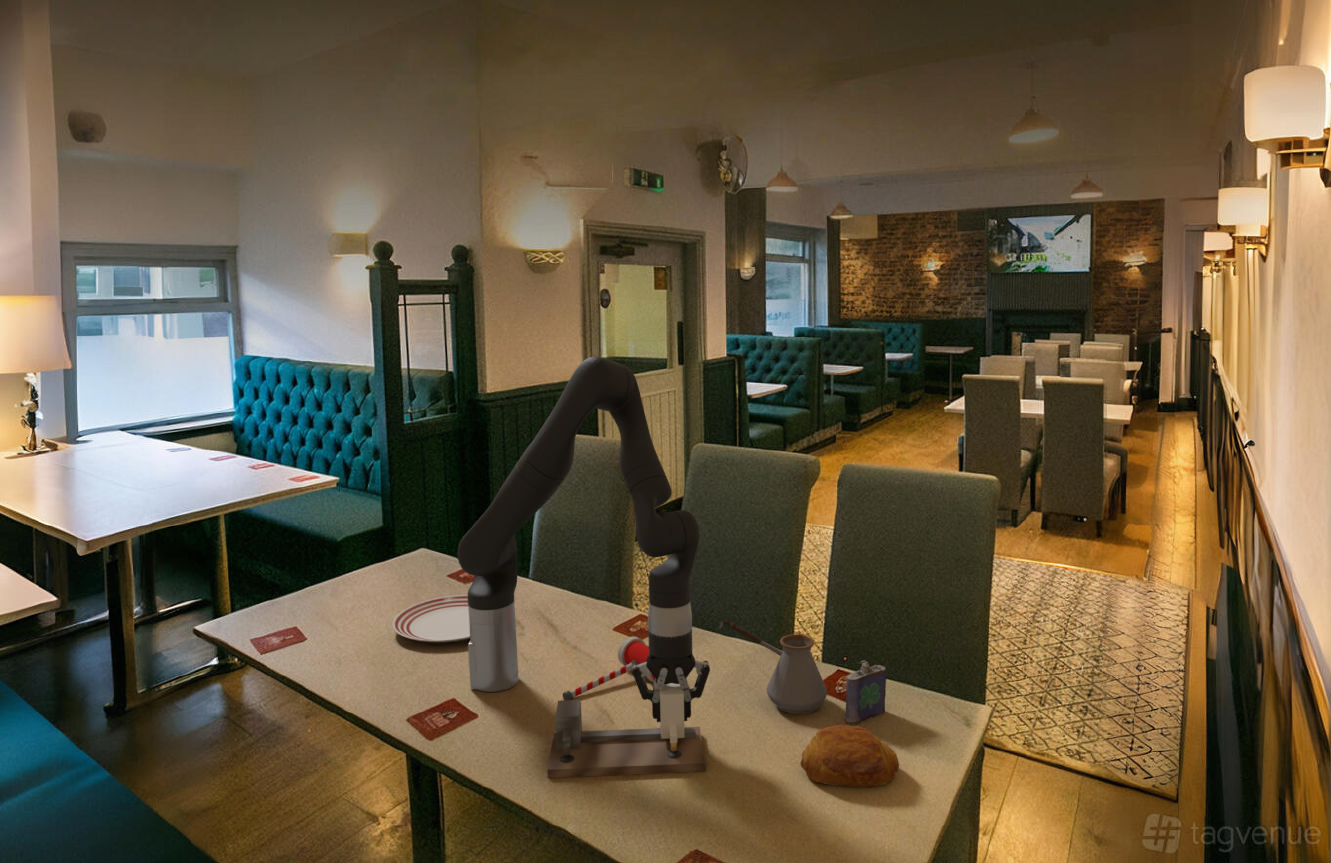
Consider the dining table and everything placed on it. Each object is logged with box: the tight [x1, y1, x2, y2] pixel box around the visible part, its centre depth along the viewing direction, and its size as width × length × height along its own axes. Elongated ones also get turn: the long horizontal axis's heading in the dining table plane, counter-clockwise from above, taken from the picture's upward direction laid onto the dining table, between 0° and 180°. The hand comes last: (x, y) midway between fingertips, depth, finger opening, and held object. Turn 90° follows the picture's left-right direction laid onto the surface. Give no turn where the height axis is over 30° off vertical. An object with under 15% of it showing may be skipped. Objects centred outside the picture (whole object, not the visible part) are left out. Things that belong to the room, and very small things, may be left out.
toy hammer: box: [562, 636, 655, 700], centre depth 173 cm, size 23×12×6 cm, turn 128°
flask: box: [844, 659, 888, 726], centre depth 158 cm, size 9×3×11 cm, turn 121°
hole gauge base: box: [546, 699, 707, 779], centre depth 146 cm, size 26×12×8 cm, turn 92°
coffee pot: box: [718, 618, 828, 715], centre depth 165 cm, size 21×12×15 cm, turn 65°
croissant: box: [800, 724, 900, 788], centre depth 141 cm, size 14×16×8 cm
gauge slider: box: [659, 683, 685, 751], centre depth 148 cm, size 4×10×8 cm, turn 2°
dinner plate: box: [391, 594, 470, 643], centre depth 205 cm, size 27×27×3 cm
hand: (671, 718), depth 150 cm, fingers closed on gauge slider, 4 cm apart
